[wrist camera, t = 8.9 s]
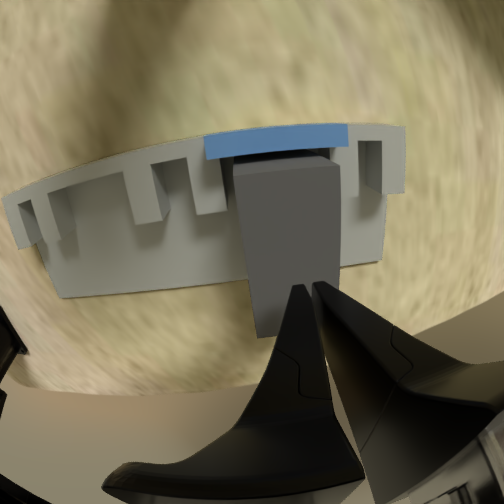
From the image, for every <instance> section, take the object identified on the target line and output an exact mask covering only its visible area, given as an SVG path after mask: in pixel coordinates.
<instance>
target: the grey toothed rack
mask: <svg viewBox="0 0 504 504" xmlns="http://www.w3.org/2000/svg"><path fill="white" fill-rule="evenodd" d="M295 149H308V150H310V151H312V152H314V153H316V154H318V155H320V156H322V157H324V158H326V159H328V160H330V161H332V162H334V163H336V164H338V165H340V175H341V253H340V267H341V266H347V265H354V264H360V263H367V262H373V261H379V260H382V254H383V245H384V235H385V223H386V208H387V194H400V193H404V190H405V159H406V143H405V127H404V126H398V125H390V124H378V123H314V124H295V125H281V126H269V127H259V128H250V129H241V130H234V131H226V132H219V133H213V134H207V135H202V136H196V137H191V138H185V139H180V140H175V141H170V142H165V143H161V144H156V145H152V146H148V147H143V148H139V149H135V150H131V151H128V152H124V153H120V154H116V155H113V156H109V157H106V158H102V159H99V160H96V161H93V162H89V163H86V164H83V165H80V166H77V167H74V168H71V169H68V170H65V171H63V172H60V173H57V174H54V175H52V176H49V177H46V178H44V179H41V180H39V181H36V182H34V183H31V184H29V185H26V186H24V187H22V188H20V189H18V190H16V191H14V192H12V193H10V194H8V195H6V196H4V197H3V198H2V202H3V205H4V209H5V212H6V215H7V219H8V222H9V225H10V228H11V231H12V234H13V236H14V239H15V242H16V244H17V247H18V250H19V249H23V248H27V247H31V246H33V245H34V244H35V243H36V245H37V247H38V250H39V253H40V255H41V258H42V260H43V262H44V265H45V267H46V270H47V272H48V274H49V276H50V279H51V281H52V283H53V285H54V287H55V289H56V292H57V294H58V296H59V298H70V297H82V296H95V295H106V294H117V293H128V292H139V291H149V290H159V289H168V288H178V287H187V286H196V285H205V284H213V283H222V282H230V281H238V280H246V279H248V275H247V268H246V262H245V255H244V249H243V242H242V235H241V228H240V222H239V215H238V208H237V201H236V194H235V187H234V181H233V164H234V156H238V155H246V154H254V153H263V152H273V151H283V150H295Z"/></svg>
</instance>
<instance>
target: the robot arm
mask: <svg viewBox="0 0 504 504" xmlns="http://www.w3.org/2000/svg"><path fill="white" fill-rule="evenodd" d="M26 353H27V349H26V348H25V346H24V345H23V343H22V342H21V340H20V339H19V337H18V335H17V334H16V332H15V331H14V329H13V327H12V326H11V324H10V323H9V321H8V319H7V317H6V316H5V314H4V312H3V310H2V309H1V307H0V383H1V381H2V379H3V377H4V375H5V374H6V372H7V370H8V368H9V367H10V365H11V363H12V362H13V360H14V358H15V357H16V355H17V354H24V355H25V354H26ZM324 354H325V355H324ZM325 357H326V360H327V363H328V365H329V368H330V370H331V373H332V376H333V379H334V381H335V384H336V386H337V390H338V393H339V395H340V398H341V401H342V404H343V407H344V410H345V412H346V415H347V418H348V421H349V424H350V427H351V430H352V432H353V436H354V438H355V441H356V444H357V447H358V450H359V453H360V457H361V460H362V463H363V466H364V469H365V472H366V475H367V478H368V481H369V485H370V488H371V491H372V494H373V498H374V501H375V504H391V503H393V502H396V501H399V500H401V499H403V498H406V497H408V496H409V499H410V502H411V504H504V361H498V362H491V363H484V364H469V363H465V362H461V361H459V360H457V359H455V358H453V357H451V356H449V355H447V354H445V353H443V352H441V351H439V350H437V349H435V348H433V347H431V346H429V345H427V344H426V343H424V342H422V341H420V340H418V339H416V338H414V337H413V336H411V335H410V334H408V333H406V332H405V331H403V330H401V329H400V328H398V327H397V326H395V325H394V326H393V324H392V323H390V322H389V321H387V320H386V319H384V318H383V317H381V316H379V315H378V314H376V313H375V312H373V311H372V310H370V309H368V308H367V307H365V306H364V305H362V304H361V303H359V302H357V301H356V300H354V299H353V298H351V297H349V296H348V295H346V294H345V293H343V292H341V291H340V290H338V289H337V288H335V287H334V286H332V285H330V284H329V283H327V282H326V281H317V282H313V283H312V298H311V296H310V294H309V292H308V290H307V288H306V286H305V285H304V284H297V285H293V286H292V288H291V291H290V295H289V298H288V302H287V305H286V308H285V312H284V315H283V319H282V322H281V325H280V329H279V332H278V335H277V338H276V342H275V345H274V349H273V351H272V354H271V357H270V360H269V362H268V365H267V368H266V370H265V372H264V374H263V377H262V379H261V381H260V383H259V385H258V387H257V388H256V390H255V392H254V394H253V396H252V397H251V399H250V401H249V403H248V404H247V406H246V408H245V410H244V411H243V413H242V415H241V416H240V418H239V419H238V421H237V422H236V424H235V425H234V426H233V427H232V428H231V429H230V430H229V431H228V432H226V433H225V434H223V435H222V436H220V437H219V438H218V439H216V440H215V441H213V442H212V443H210V444H209V445H208V446H206V447H205V448H203V449H201V450H200V451H198V452H197V453H195V454H194V455H192V456H191V457H189V458H187V459H185V460H183V461H180V462H176V463H171V464H152V463H144V462H128V463H124V464H122V465H121V466H120V467H118V468H117V469H116V470H115V471H113V472H112V473H111V474H110V475H109V476H108V477H107V478H106V479H105V481H104V482H103V484H102V486H101V488H102V490H103V491H105V492H106V493H107V494H109V495H111V496H113V497H115V498H118V499H119V500H121V501H123V502H126V503H128V504H340V503H341V502H342V501H343V500H345V498H347V496H349V495H350V494H351V493H352V492H353V491H354V490H355V489H356V488H357V487H358V486H359V485H360V484H361V483H362V482H363V481H364V479H365V473H364V469H363V466H362V464H361V462H360V461H359V459H358V457H357V455H356V453H355V451H354V450H353V448H352V446H351V444H350V442H349V440H348V438H347V437H346V435H345V433H344V431H343V429H342V427H341V426H340V424H339V422H338V420H337V418H336V416H335V412H334V408H333V403H332V396H331V389H330V383H329V378H328V372H327V366H326V360H325ZM6 397H7V394H6V393H5V392H4V391H2V390H1V389H0V418H1V414H2V410H3V407H4V403H5V400H6ZM0 504H51V503H49V502H47V501H46V500H44V499H42V498H40V497H38V496H36V495H34V494H32V493H31V492H29V491H27V490H25V489H24V488H22V487H20V486H19V485H17V484H15V483H14V482H12V481H11V480H9V479H8V478H6V477H5V476H3V475H1V474H0Z"/></svg>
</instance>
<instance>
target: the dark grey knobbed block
mask: <svg viewBox="0 0 504 504" xmlns="http://www.w3.org/2000/svg"><path fill="white" fill-rule="evenodd" d="M233 181H234V187H235V194H236V201H237V208H238V215H239V222H240V228H241V235H242V242H243V249H244V255H245V262H246V268H247V275H248V282H249V288H250V295H251V301H252V308H253V314H254V321H255V327H256V334H257V338H265V337H272V336H277V335H278V332H279V329H280V325H281V322H282V319H283V315H284V312H285V308H286V305H287V302H288V298H289V295H290V291H291V288H292V286H293V285H297V284H304V285H305V286H306V288H307V290H308V292H309V294H310V296H311V298H312V283H313V282H317V281H326V282H327V283H329V284H330V285H332V286H334V287H335V288H337V289H338V290H339V277H340V253H341V175H340V165H338V164H336V163H334V162H332V161H330V160H328V159H326V158H324V157H322V156H320V155H318V154H316V153H314V152H312V151H310V150H308V149H295V150H283V151H273V152H263V153H254V154H246V155H238V156H234V164H233Z"/></svg>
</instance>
